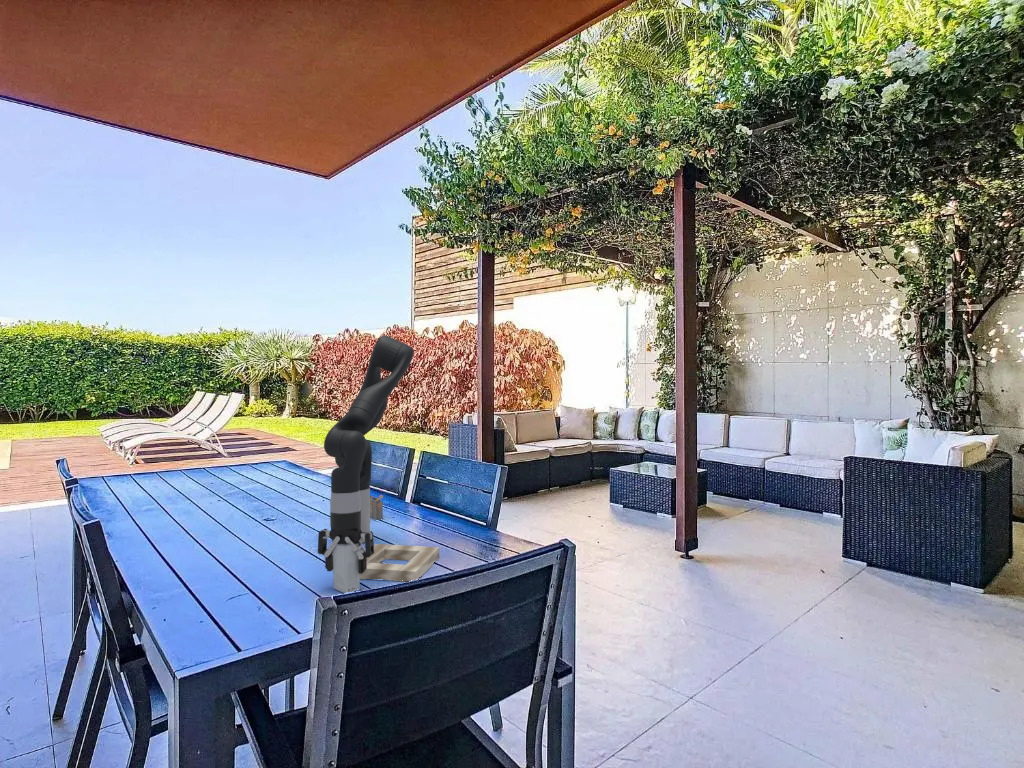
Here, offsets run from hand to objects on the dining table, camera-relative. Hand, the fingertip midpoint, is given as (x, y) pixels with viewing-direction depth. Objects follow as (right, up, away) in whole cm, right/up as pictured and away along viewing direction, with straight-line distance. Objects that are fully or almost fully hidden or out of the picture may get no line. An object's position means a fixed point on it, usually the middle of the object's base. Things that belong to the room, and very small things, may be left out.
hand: (346, 571), depth 147 cm
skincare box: (0, -5, 0) cm, 5 cm away
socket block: (+9, -4, +17) cm, 20 cm away
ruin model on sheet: (-10, -4, +72) cm, 72 cm away
